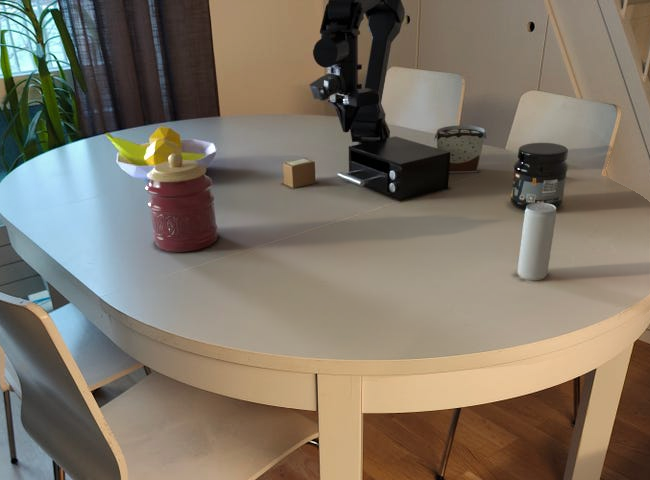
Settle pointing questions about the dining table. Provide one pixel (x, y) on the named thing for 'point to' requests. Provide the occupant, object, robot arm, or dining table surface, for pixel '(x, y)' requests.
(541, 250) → the beverage can
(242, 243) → the dining table surface
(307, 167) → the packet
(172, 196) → the kitchen canister
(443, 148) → the food container
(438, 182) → the toaster oven
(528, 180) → the supplement container
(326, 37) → the robot arm
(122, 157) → the fruit bowl
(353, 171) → the tray
